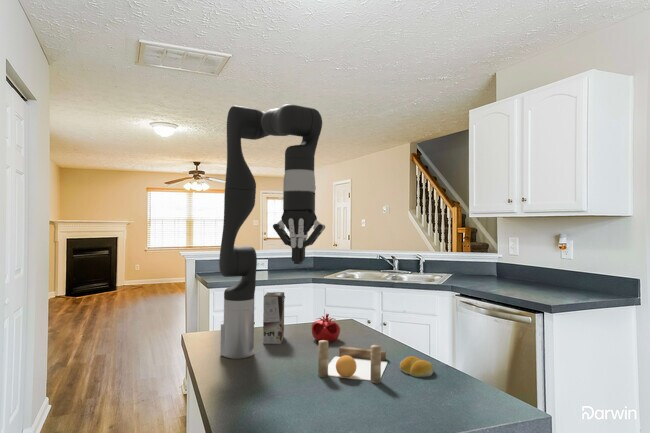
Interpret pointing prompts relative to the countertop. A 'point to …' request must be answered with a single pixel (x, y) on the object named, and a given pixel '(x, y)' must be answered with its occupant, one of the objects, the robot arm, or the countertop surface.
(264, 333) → the coffee box
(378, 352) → the post
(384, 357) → the stopper rail
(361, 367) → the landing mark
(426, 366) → the bread roll
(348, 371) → the ball
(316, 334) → the pomegranate
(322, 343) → the post
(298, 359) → the countertop surface
